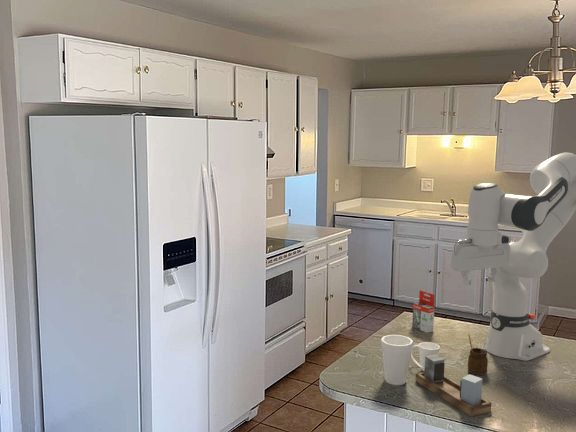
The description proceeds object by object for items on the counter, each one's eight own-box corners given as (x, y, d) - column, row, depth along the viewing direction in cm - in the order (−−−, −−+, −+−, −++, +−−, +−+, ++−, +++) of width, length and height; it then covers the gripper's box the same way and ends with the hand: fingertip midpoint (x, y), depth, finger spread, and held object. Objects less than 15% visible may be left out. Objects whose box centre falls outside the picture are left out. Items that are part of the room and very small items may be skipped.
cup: (432, 375, 179) (433, 351, 178) (404, 367, 186) (405, 343, 185) (443, 369, 184) (444, 345, 183) (415, 360, 191) (416, 337, 190)
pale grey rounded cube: (481, 402, 159) (482, 378, 158) (473, 407, 156) (475, 382, 155) (466, 396, 162) (467, 373, 161) (458, 401, 159) (459, 377, 158)
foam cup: (405, 389, 169) (407, 348, 168) (375, 383, 174) (377, 342, 172) (414, 377, 178) (416, 338, 176) (385, 371, 182) (387, 332, 180)
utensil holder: (487, 376, 179) (489, 340, 177) (466, 373, 181) (468, 337, 180) (487, 369, 185) (489, 333, 183) (467, 366, 187) (468, 331, 185)
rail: (415, 381, 175) (417, 354, 174) (434, 377, 178) (435, 351, 177) (471, 416, 154) (473, 386, 153) (490, 411, 157) (492, 382, 156)
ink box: (427, 333, 217) (429, 296, 215) (411, 327, 224) (413, 291, 222) (433, 331, 220) (435, 294, 217) (417, 325, 226) (419, 289, 224)
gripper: (462, 242, 162) (459, 289, 164) (515, 237, 171) (512, 282, 173) (447, 238, 168) (445, 284, 170) (499, 233, 176) (496, 277, 178)
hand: (479, 283), depth 171 cm, fingers open, 8 cm apart
